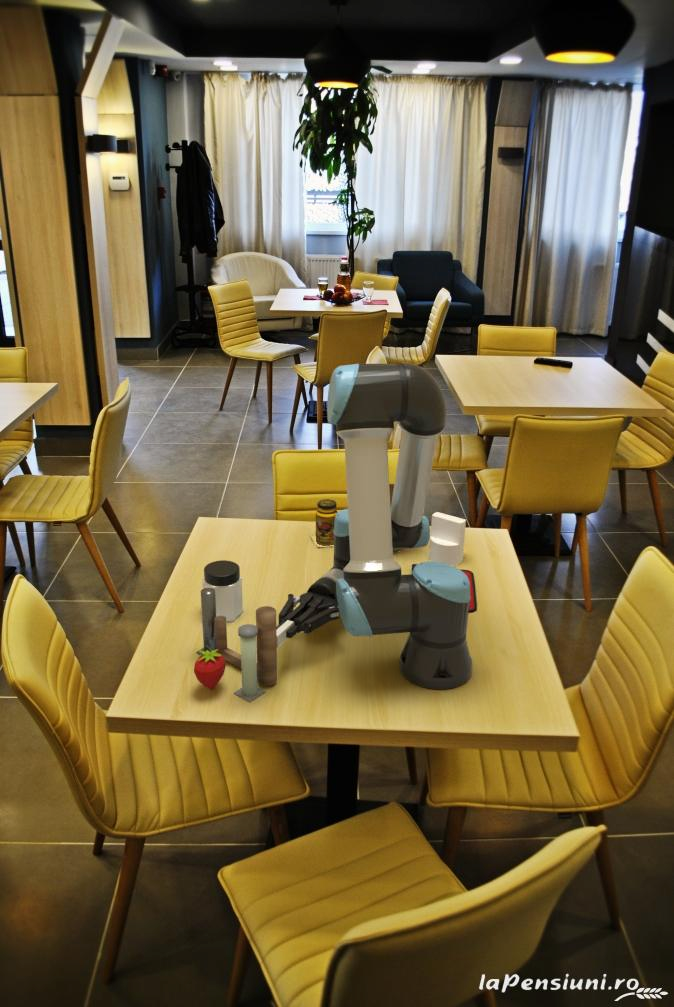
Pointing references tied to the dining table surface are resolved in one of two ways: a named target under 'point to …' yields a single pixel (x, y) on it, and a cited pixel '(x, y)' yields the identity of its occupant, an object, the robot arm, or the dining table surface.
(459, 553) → the cylinder with rectangular tab
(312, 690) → the dining table surface
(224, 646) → the brown uneven u-shaped piece
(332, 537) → the condiment
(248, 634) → the post
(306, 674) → the dining table surface
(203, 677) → the strawberry
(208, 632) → the hinge post
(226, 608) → the jar
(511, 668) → the dining table surface
